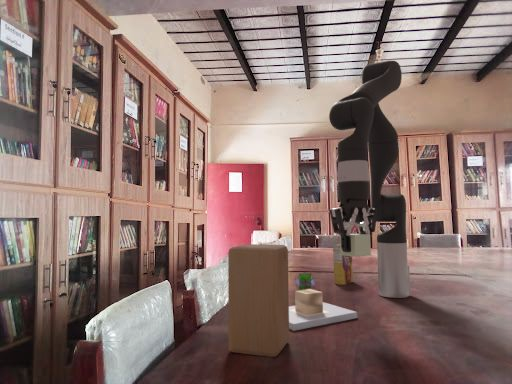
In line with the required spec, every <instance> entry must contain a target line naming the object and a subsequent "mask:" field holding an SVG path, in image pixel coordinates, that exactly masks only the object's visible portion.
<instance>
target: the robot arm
mask: <svg viewBox="0 0 512 384" xmlns="http://www.w3.org/2000/svg"><path fill="white" fill-rule="evenodd" d="M402 77H403V76H402V68H401V65H400V64H399V62H397V61H396V60H386V61H381V62H376V63H370V64H366V65H365V66H364V67H363V68H362V72H361V83H362V84H360V85H359V86H358V87H356V88H355V90H354V91H353V92H352V93H351V94H348V95H347V96H345V97H342V98H341V99H339V100H337V101H335V103H334V104H333V105H332V106H331V107H330V111H329V117H328V118H329V122H330V125H331V126H332V128H333V129H336V130H337V131H347V130H352V129H354V131H353V132H352V134H350V135H349V136H346V137H344V138H342V139H340V140H339V141H338V144H337V162H338V163H337V170H336V171H337V172H336V173H337V178H336V179H337V199H338V201H339V205H338V207H333V208H330V209H329V215H330V220H331V224H332V229H333V233H335V234H338V235H339V236H340V235H341V248H342V250H343V252H351V236H350V234H352V229H353V227H355V226H356V228H357V230H358V234H370V235H371V233H375V231H376V225H377V223H378V222H379V223H395V225H394V226H393V227H392V228H390V229H388V230H385V231H383V232H379V233H378V234H377V235H376V251H377V253H376V254H377V277H378V278H377V280H378V281H377V283H378V284H377V285H378V296H381V297H385V298H391V299H404V298H408V297H409V296H411V277H410V275H411V273H410V265H408V248H407V247H408V245H407V242H408V241H407V200H406V197H405V196H404V195H403V194H401V193H395V194H394V193H391V194H390V193H389V194H388V193H387V194H382V189H383V185H384V183H385V180H386V178H387V176H388V175H389V174H390V172H391V170H392V168H393V167H394V165H395V164H396V162H397V160H398V158H399V154H400V151H399V147H400V146H399V134H398V132H397V130H396V129H395V127H394V126H393V124H392V123H391V122H390V121H389V119H388V118H387V116H386V115H385V114H384V112H383V111H382V108H381V107H380V104H379V103H380V102H381V101H382V100H383V99H385V98H387V97H388V96H389V95H391V94H392V93H394V92H395V91H397V90H398V89H399V88H400V87H401V83H402ZM368 161H369V162H368ZM368 200H370V206H369V203H368Z"/></svg>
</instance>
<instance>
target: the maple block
mask: <svg viewBox="0 0 512 384" xmlns="http://www.w3.org/2000/svg"><path fill="white" fill-rule="evenodd" d="M294 298H295V299H294V303H295V305H294V306H295V311H298V312H301V313H304V314H307V315H309V314H315V313H320V312H323V302H324V301H323V298H324V296H323V291H319V290H317V289H313V288H311V289H306V290H299V289H298V290H295V291H294Z"/></svg>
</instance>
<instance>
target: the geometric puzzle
mask: <svg viewBox="0 0 512 384" xmlns="http://www.w3.org/2000/svg"><path fill="white" fill-rule="evenodd" d="M298 274H299V275H298V276H297V278H296V277H295V279H294V281H295V286H298V291H299V290H306V289H314V287H316V282H315V278H314V277H313V276H312V273H311V272H305V271H303V272H301V273H298Z"/></svg>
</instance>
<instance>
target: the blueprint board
mask: <svg viewBox="0 0 512 384" xmlns="http://www.w3.org/2000/svg"><path fill="white" fill-rule="evenodd" d="M357 318H358V312H357V311H355V310H352V309H348V308H344V307H341V306H338V305H334V304H331V303H328V302H324V301H323V312H320V313H315V314H309V315H307V314H304V313H301V312H298V311H295V305H289V330H291V331H294V332H295V331H299V330H304V329H309V328H314V327H320V326H324V325H329V324H335V323H339V322H344V321H349V320H354V319H357Z"/></svg>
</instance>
